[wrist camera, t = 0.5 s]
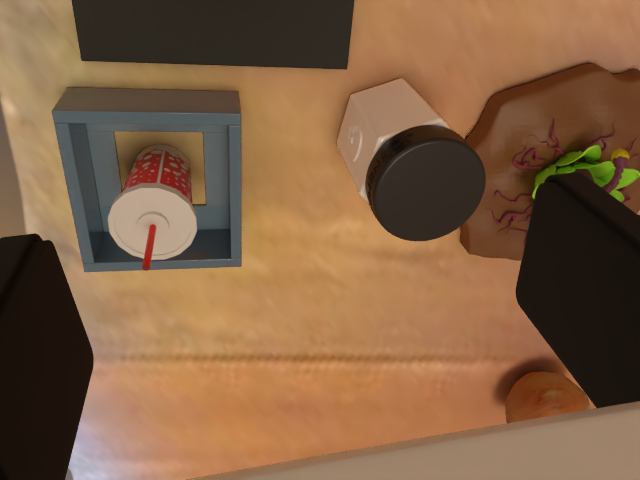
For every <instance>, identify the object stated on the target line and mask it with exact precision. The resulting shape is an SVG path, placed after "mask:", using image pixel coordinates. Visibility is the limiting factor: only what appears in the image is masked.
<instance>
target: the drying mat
mask: <svg viewBox="0 0 640 480" xmlns="http://www.w3.org/2000/svg"><path fill="white" fill-rule="evenodd" d="M72 5H73V11H74V17H75V23H76V29H77V35H78V41H79V48H80V54H81V60H82V61H105V62H136V63H167V64H198V65H229V66H260V67H291V68H322V69H347V64H348V54H349V45H350V35H351V26H352V16H353V7H354V0H72Z"/></svg>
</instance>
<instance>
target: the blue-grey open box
mask: <svg viewBox="0 0 640 480" xmlns="http://www.w3.org/2000/svg"><path fill="white" fill-rule="evenodd" d="M52 115H53V120H54V125H55V130H56V134H57V139H58V144H59V149H60V154H61V159H62V164H63V169H64V174H65V179H66V184H67V189H68V193H69V198H70V203H71V208H72V213H73V218H74V223H75V228H76V233H77V238H78V243H79V248H80V253H81V257H82V262H83V267H84V272H103V271H132V270H143V268H142V266H143V260H144V259H143V258H140V257H136V256H133V255H131V254H129V253H128V252H127V251H125V250H124V249H122V248H121V247H119V246H118V245H117V243H116V242H115V240H114V239H113V237H112V236H111V234H110V231H109V225H108V216H109V213H110V210H111V208H112V205H113V203H114V200H115V199H116V198H117V197H118V196H119V195H120V194H121V193H122V186H121V179H120V171H119V164H118V157H117V150H116V143H115V136H114V131H149V132H203V142H204V165H205V188H206V205H192V206H193V208H194V209H195V211H196V222H197V232H196V235H195V237H194V239H193V241H192V243H191V245H190V246H189V247H188V248H186V249H185V250H184V251H183V252H182V253H181V254H179V255H176V256H173V257H170V258H168V259H165V260H151V265H150V269H149V270H160V269H189V268H217V267H241V266H242V259H241V108H240V100H239V92H238V91H204V90H162V89H120V88H78V87H68V88H67V89H66V91H65V92H64V93H63V95H62V96H61V98H60V99H59V101H58V102H57V104H56V105H55V107H54V108H53V110H52Z"/></svg>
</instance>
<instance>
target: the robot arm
mask: <svg viewBox="0 0 640 480" xmlns="http://www.w3.org/2000/svg"><path fill="white" fill-rule="evenodd" d="M516 298H517V301H518V304H519V306H520V307H521V309H522V310H523V311H524V312H525V314H526V315H527V316H528V318H529V319H530V320H531V322H532V323H533V324H534V326H535V327H536V328H537V330H538V331H539V332H540V334H541V335H542V336H543V338H544V339H545V340H546V342H547V343H548V344H549V346H550V347H551V348H552V349H553V351H554V352H555V353H556V355H557V356H558V357H559V359H560V360H561V361H562V363H563V364H564V365H565V367H566V368H567V369H568V371H569V372H570V373H571V375H572V376H573V377H574V379H575V380H576V381H577V383H578V384H579V385H580V386H581V388H582V389H583V390H584V392H585V393H586V394H587V396H588V397H589V398H590V400H591V401H592V402H593V404H594V405H595V406H596V409H590V410H584V411H578V412H572V413H566V414H560V415H554V416H548V417H542V418H536V419H530V420H524V421H518V422H512V423H506V424H500V425H495V426H489V427H483V428H477V429H471V430H466V431H460V432H454V433H448V434H442V435H437V436H431V437H425V438H419V439H413V440H408V441H402V442H396V443H390V444H385V445H379V446H373V447H368V448H362V449H356V450H350V451H345V452H339V453H333V454H327V455H322V456H316V457H310V458H305V459H299V460H293V461H288V462H282V463H277V464H271V465H266V466H260V467H254V468H249V469H243V470H238V471H232V472H226V473H221V474H215V475H210V476H204V477H198V478H193V479H187V480H640V216H639V215H637V214H636V213H635V212H633V211H632V210H631V209H629V208H628V207H627V206H625V205H624V204H623V203H621V202H620V201H619V200H617V199H616V198H614V197H613V196H612V195H610V194H609V193H608V192H606V191H605V190H604V189H602V188H601V187H600V186H598V185H597V184H596V183H594V182H593V181H592V180H590V179H589V178H588V177H586V176H585V175H583V174H582V173H580V172H573V173H564V174H555V175H550V176H548V177H547V178H546V179H545V181H544V183H541V184H540V185H539V186H538V187H537V190H536V194H535V199H534V204H533V208H532V213H531V218H530V223H529V228H528V233H527V237H526V242H525V247H524V252H523V257H522V262H521V266H520V271H519V276H518V281H517V286H516ZM92 370H93V351H92V348H91V345H90V342H89V339H88V337H87V334H86V331H85V329H84V326H83V323H82V320H81V318H80V315H79V312H78V309H77V307H76V304H75V301H74V298H73V296H72V293H71V290H70V287H69V285H68V282H67V279H66V276H65V274H64V271H63V268H62V266H61V263H60V260H59V257H58V255H57V252H56V249H55V247H54V245H53V243H52V242H51V241H50V240H46V241H43V240H42V239H41V237H40V236H39V235H37V234H28V235H19V236H11V237H3V238H1V239H0V480H65V477H66V473H67V469H68V465H69V461H70V457H71V453H72V449H73V445H74V441H75V438H76V434H77V430H78V426H79V422H80V418H81V414H82V410H83V406H84V402H85V398H86V394H87V390H88V386H89V382H90V378H91V374H92Z"/></svg>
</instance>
